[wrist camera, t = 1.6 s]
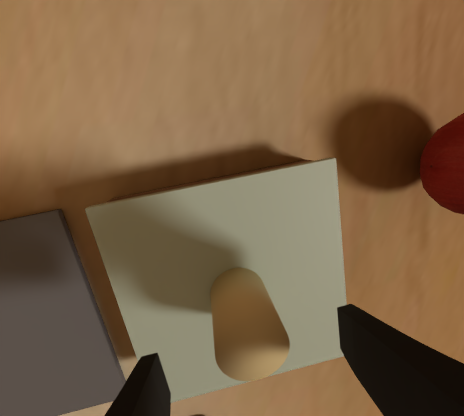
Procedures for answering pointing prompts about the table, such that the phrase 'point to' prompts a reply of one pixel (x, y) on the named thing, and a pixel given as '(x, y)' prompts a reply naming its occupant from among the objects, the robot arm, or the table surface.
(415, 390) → the robot arm
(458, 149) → the onion
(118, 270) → the lid
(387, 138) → the table surface
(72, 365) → the charcoal mat
